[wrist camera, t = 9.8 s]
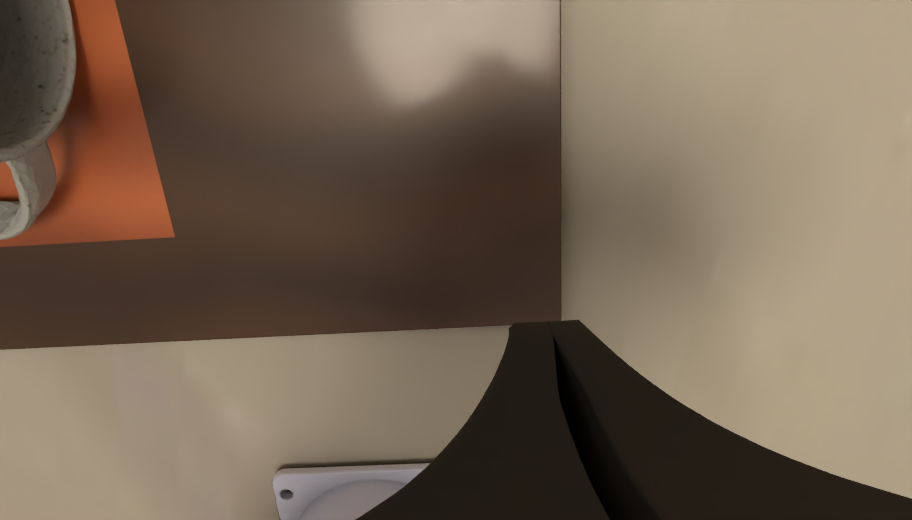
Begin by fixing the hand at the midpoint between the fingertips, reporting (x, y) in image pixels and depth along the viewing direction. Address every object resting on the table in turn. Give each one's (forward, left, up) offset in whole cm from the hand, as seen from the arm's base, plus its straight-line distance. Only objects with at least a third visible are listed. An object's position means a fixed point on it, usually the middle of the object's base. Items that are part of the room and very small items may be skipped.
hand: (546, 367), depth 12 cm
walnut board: (+4, +11, -9) cm, 15 cm away
